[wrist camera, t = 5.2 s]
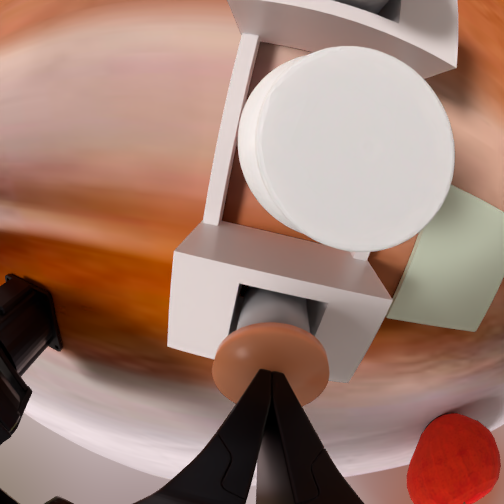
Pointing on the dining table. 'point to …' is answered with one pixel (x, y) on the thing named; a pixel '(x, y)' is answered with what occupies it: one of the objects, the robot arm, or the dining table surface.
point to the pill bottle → (347, 148)
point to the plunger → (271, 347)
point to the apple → (453, 462)
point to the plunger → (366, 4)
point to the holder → (281, 246)
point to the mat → (453, 266)
